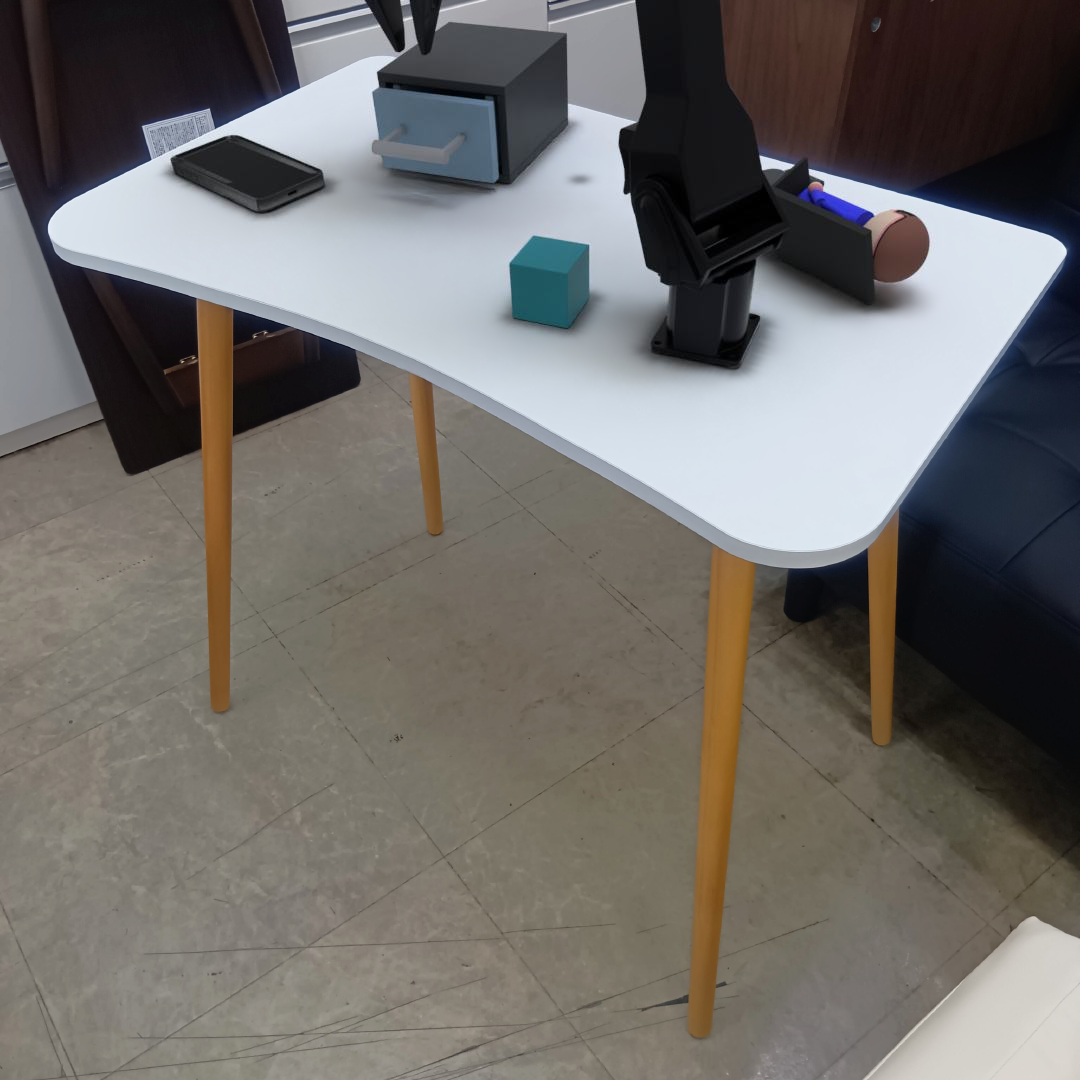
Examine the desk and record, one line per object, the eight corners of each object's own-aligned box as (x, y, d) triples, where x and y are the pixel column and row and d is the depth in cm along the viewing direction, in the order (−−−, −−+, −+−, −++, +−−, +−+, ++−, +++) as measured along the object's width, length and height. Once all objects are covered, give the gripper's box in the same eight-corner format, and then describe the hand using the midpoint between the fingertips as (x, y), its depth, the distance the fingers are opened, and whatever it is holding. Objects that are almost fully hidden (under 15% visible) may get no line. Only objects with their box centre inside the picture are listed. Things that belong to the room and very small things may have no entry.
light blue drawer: (470, 206, 84) (463, 127, 79) (356, 188, 87) (343, 111, 83) (550, 126, 96) (548, 53, 91) (447, 113, 99) (440, 42, 94)
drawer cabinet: (510, 184, 89) (504, 86, 83) (390, 166, 93) (376, 71, 87) (568, 124, 98) (567, 32, 92) (457, 110, 102) (449, 21, 96)
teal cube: (568, 328, 71) (567, 273, 68) (512, 318, 73) (508, 263, 69) (589, 298, 74) (589, 244, 71) (535, 288, 75) (533, 234, 72)
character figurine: (781, 228, 82) (926, 302, 73) (718, 248, 78) (861, 328, 70) (801, 133, 76) (959, 200, 68) (734, 150, 73) (891, 223, 64)
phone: (233, 133, 97) (327, 171, 89) (236, 144, 98) (329, 183, 90) (164, 159, 93) (257, 202, 85) (168, 170, 94) (260, 214, 86)
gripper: (549, -197, 71) (554, 31, 82) (332, -202, 77) (364, 13, 88) (486, -170, 64) (500, 77, 75) (251, -177, 70) (297, 53, 81)
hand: (413, 52), depth 80 cm, fingers closed
